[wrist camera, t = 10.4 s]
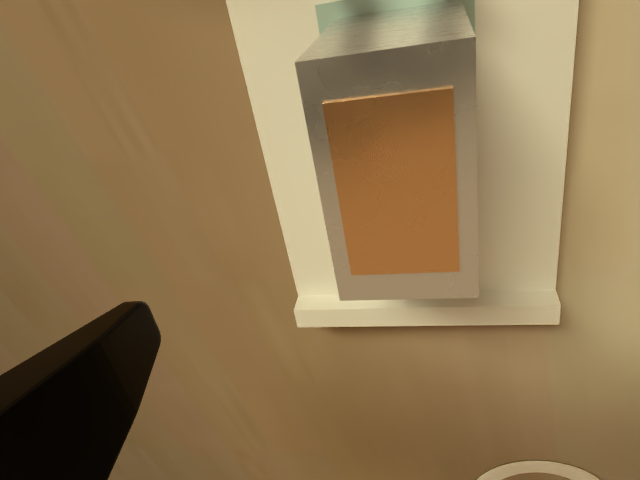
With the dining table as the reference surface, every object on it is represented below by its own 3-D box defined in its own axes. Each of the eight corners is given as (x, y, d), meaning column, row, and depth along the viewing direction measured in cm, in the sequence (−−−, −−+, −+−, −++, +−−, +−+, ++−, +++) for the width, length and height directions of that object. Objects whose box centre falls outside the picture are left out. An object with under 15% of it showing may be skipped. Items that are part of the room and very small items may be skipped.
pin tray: (590, -264, 13) (637, -318, 10) (549, 293, 22) (567, 350, 19) (198, -160, 16) (145, -177, 13) (306, 299, 25) (290, 350, 22)
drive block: (460, -1, 16) (476, 37, 11) (465, 199, 19) (479, 300, 14) (334, 19, 17) (293, 62, 11) (361, 206, 20) (339, 302, 15)
